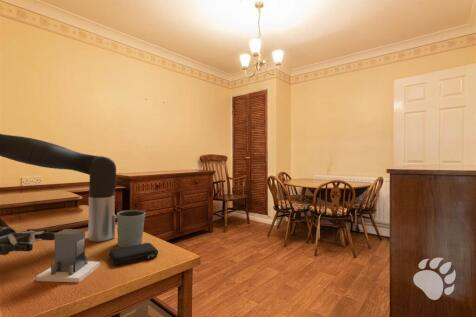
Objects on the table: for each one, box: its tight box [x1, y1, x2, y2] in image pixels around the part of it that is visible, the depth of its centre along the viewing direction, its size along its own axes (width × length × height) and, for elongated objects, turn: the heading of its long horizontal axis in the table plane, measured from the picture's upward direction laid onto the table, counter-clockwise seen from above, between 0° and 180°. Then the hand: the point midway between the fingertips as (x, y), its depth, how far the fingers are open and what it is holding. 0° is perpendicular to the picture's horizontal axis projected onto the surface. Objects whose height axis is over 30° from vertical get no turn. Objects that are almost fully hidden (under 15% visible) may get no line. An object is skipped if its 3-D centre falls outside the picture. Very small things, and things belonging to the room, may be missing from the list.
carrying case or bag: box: [108, 242, 159, 267], centre depth 84 cm, size 11×3×15 cm
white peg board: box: [35, 254, 101, 283], centre depth 73 cm, size 10×12×4 cm
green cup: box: [116, 209, 146, 248], centre depth 96 cm, size 10×10×12 cm
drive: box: [53, 228, 86, 273], centre depth 72 cm, size 4×6×11 cm
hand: (44, 241), depth 73 cm, fingers open, 8 cm apart
